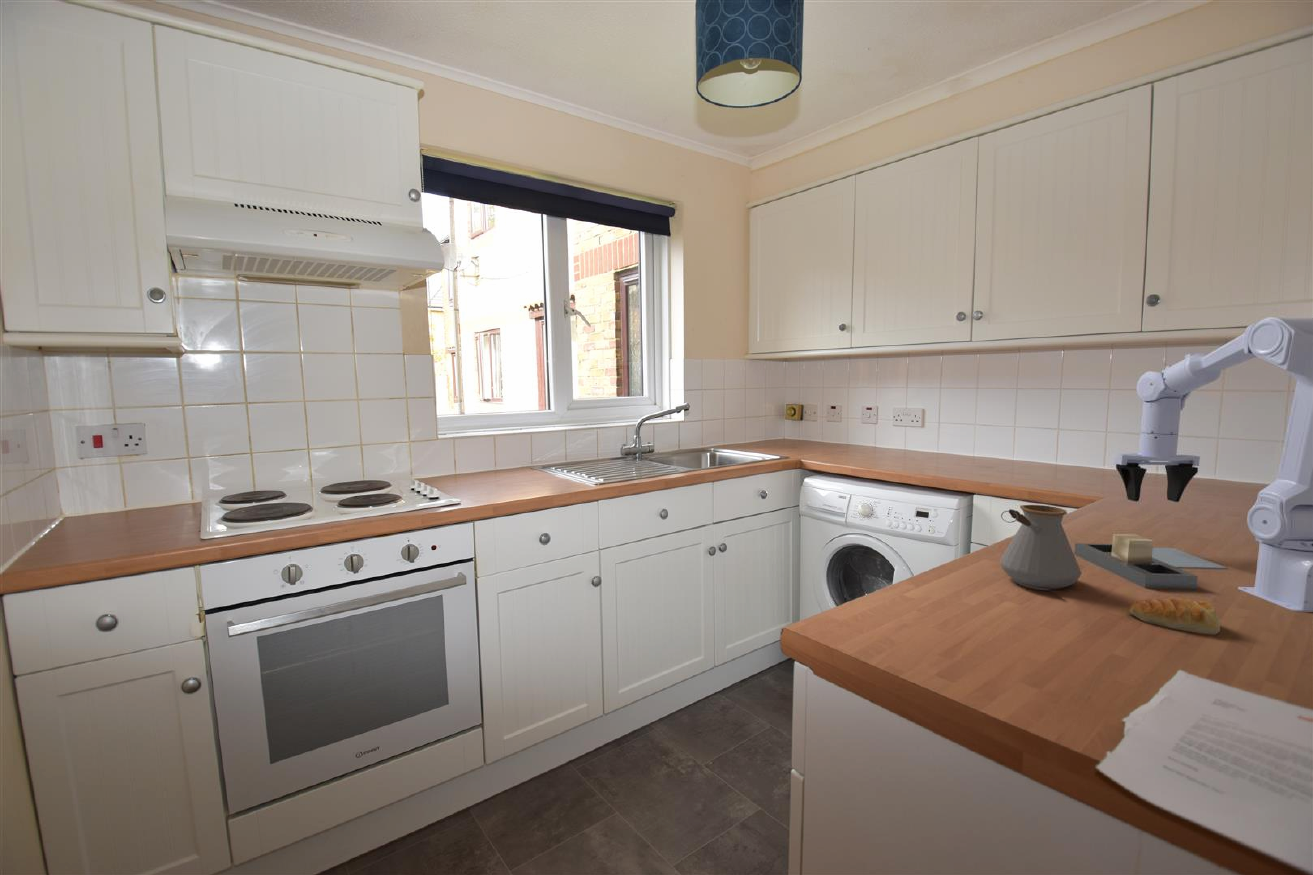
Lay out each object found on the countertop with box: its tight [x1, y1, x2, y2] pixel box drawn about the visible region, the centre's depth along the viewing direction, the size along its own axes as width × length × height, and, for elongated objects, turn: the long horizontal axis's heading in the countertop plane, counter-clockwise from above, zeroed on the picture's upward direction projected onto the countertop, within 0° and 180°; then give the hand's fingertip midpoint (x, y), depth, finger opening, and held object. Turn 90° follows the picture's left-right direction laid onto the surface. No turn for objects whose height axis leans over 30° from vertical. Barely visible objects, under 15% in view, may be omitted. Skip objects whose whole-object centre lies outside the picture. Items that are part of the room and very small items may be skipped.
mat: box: [1152, 547, 1228, 570], centre depth 112 cm, size 12×12×1 cm
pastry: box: [1128, 597, 1221, 636], centre depth 84 cm, size 9×7×4 cm
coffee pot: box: [999, 504, 1082, 592], centre depth 96 cm, size 21×12×15 cm, turn 130°
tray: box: [1073, 542, 1198, 590], centre depth 105 cm, size 18×8×3 cm, turn 176°
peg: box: [1111, 533, 1154, 563], centre depth 104 cm, size 4×4×6 cm
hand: (1152, 500), depth 117 cm, fingers open, 7 cm apart
